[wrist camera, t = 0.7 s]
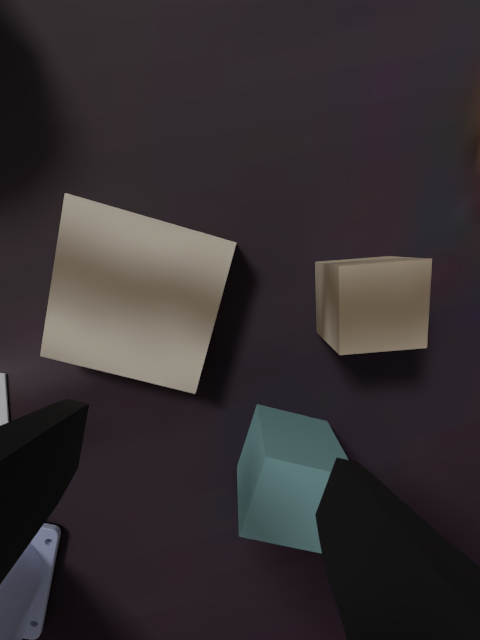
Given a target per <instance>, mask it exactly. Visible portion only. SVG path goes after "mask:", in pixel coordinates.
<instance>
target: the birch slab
mask: <svg viewBox="0 0 480 640" xmlns="http://www.w3.org/2000/svg"><path fill="white" fill-rule="evenodd" d="M235 246H236V242H232V241H229V240H225V239H222V238H218V237H215V236H212V235H208V234H205V233H201V232H198V231H194V230H191V229H187V228H184V227H181V226H177V225H174V224H170V223H167V222H163V221H160V220H156V219H153V218H149V217H146V216H143V215H139V214H136V213H132V212H129V211H125V210H122V209H118V208H115V207H112V206H108V205H105V204H101V203H98V202H94V201H91V200H87V199H84V198H81V197H77V196H74V195H70V194H67V193H65V195H64V202H63V208H62V215H61V222H60V228H59V235H58V241H57V248H56V255H55V261H54V268H53V274H52V281H51V287H50V294H49V301H48V307H47V314H46V320H45V327H44V334H43V340H42V347H41V353H40V356H42V357H46V358H50V359H54V360H58V361H62V362H66V363H71V364H75V365H79V366H83V367H87V368H91V369H95V370H99V371H103V372H107V373H111V374H115V375H120V376H124V377H128V378H132V379H136V380H140V381H144V382H148V383H152V384H156V385H160V386H165V387H169V388H173V389H177V390H181V391H185V392H189V393H193V394H196V390H197V386H198V383H199V379H200V375H201V372H202V368H203V364H204V361H205V357H206V353H207V349H208V346H209V342H210V338H211V335H212V331H213V327H214V324H215V320H216V316H217V313H218V309H219V305H220V302H221V298H222V294H223V291H224V287H225V283H226V279H227V276H228V272H229V268H230V265H231V261H232V257H233V254H234V250H235Z"/></svg>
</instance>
